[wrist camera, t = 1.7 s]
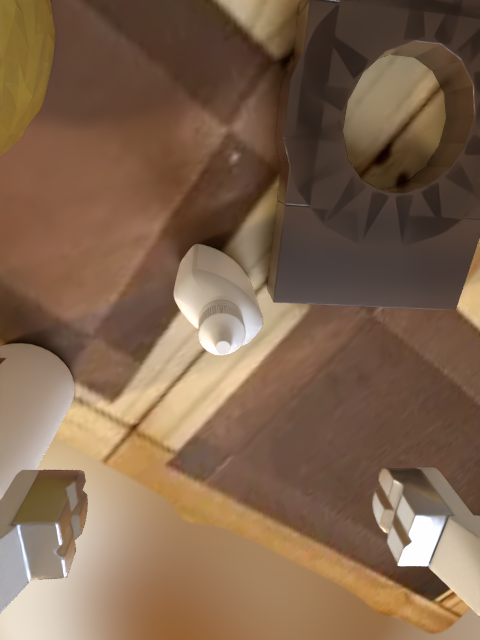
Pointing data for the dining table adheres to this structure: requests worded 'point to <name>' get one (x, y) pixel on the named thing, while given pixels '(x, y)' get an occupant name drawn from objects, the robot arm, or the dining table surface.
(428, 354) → the dining table surface
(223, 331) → the eye dropper bottle
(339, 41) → the grey ring plate
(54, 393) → the milk bottle
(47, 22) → the pitcher
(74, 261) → the dining table surface
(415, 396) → the dining table surface
